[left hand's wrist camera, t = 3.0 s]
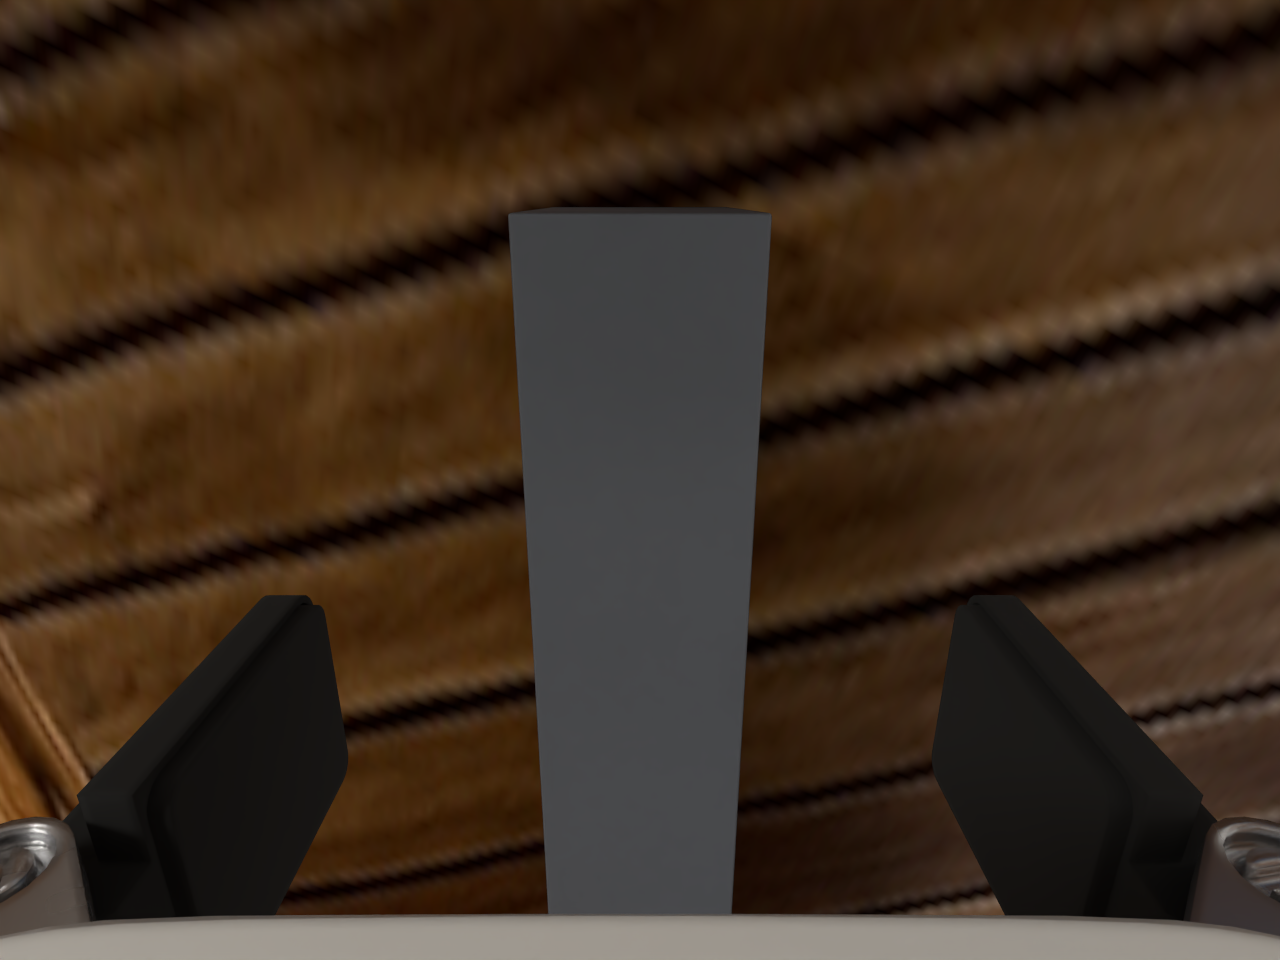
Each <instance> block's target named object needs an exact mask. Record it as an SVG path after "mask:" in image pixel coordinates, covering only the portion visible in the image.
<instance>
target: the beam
mask: <svg viewBox="0 0 1280 960" xmlns="http://www.w3.org/2000/svg"><path fill="white" fill-rule="evenodd" d="M771 219H772V216H771V214H770V213H765V212H758V211H750V210H743V209H735V208H728V207H552V208H545V209H537V210H530V211H522V212H515V213H510V214H509V216H508V220H509V237H510V255H511V272H512V289H513V307H514V324H515V341H516V359H517V376H518V394H519V411H520V428H521V446H522V463H523V480H524V498H525V515H526V532H527V550H528V567H529V584H530V602H531V619H532V636H533V654H534V671H535V688H536V706H537V723H538V740H539V758H540V775H541V792H542V810H543V827H544V845H545V862H546V879H547V897H548V914H731V913H732V896H733V879H734V861H735V844H736V827H737V809H738V792H739V775H740V757H741V740H742V722H743V705H744V688H745V670H746V653H747V636H748V618H749V601H750V584H751V566H752V549H753V532H754V514H755V497H756V480H757V462H758V445H759V428H760V410H761V393H762V375H763V358H764V341H765V323H766V306H767V289H768V271H769V254H770V237H771Z"/></svg>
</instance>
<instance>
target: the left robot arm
mask: <svg viewBox="0 0 1280 960" xmlns="http://www.w3.org/2000/svg"><path fill="white" fill-rule="evenodd" d="M347 765H348V750H347V744H346V738H345V732H344V726H343V720H342V714H341V708H340V702H339V696H338V690H337V684H336V678H335V672H334V666H333V660H332V654H331V648H330V642H329V636H328V630H327V624H326V618H325V614H324V610H323V608H322V607H321V606H320V605H313V603H312V601H311V600H310V598H309V597H308V596H306V595H269V596H265V597H263V598H262V599H261V600H260V601H259V602H258V603H257V604H256V605H255V606H254V607H253V608H252V609H251V610H250V611H249V612H248V613H247V615H246V616H245V617H244V618H243V619H242V620H241V621H240V622H239V623H238V624H237V625H236V626H235V627H234V628H233V629H232V631H231V632H230V633H229V634H228V635H227V636H226V637H225V638H224V639H223V640H222V641H221V642H220V643H219V644H218V645H217V646H216V648H215V649H214V650H213V651H212V652H211V653H210V654H209V655H208V656H207V657H206V658H205V659H204V660H203V661H202V662H201V664H200V665H199V666H198V667H197V668H196V669H195V670H194V671H193V672H192V673H191V674H190V675H189V676H188V677H187V678H186V679H185V681H184V682H183V683H182V684H181V685H180V686H179V687H178V688H177V689H176V690H175V691H174V692H173V693H172V694H171V695H170V697H169V698H168V699H167V700H166V701H165V702H164V703H163V704H162V705H161V706H160V707H159V708H158V709H157V710H156V711H155V712H154V714H153V715H152V716H151V717H150V718H149V719H148V720H147V721H146V722H145V723H144V724H143V725H142V726H141V727H140V728H139V730H138V731H137V732H136V733H135V734H134V735H133V736H132V737H131V738H130V739H129V740H128V741H127V742H126V743H125V744H124V746H123V747H122V748H121V749H120V750H119V751H118V752H117V753H116V754H115V755H114V756H113V757H112V758H111V759H110V760H109V761H108V763H107V764H106V765H105V766H104V767H103V768H102V769H101V770H100V771H99V772H98V773H97V774H96V775H95V776H94V777H93V779H92V780H91V781H90V782H89V783H88V784H87V785H86V786H85V787H84V788H83V789H82V790H81V791H80V792H79V793H78V794H77V797H78V800H79V804H78V805H77V806H76V807H75V808H74V809H73V810H72V811H71V813H70V814H69V815H68V816H67V817H66V818H65V819H64V820H63V821H60V820H58V819H56V818H46V817H31V818H24V819H18V820H12V821H9V822H6V823H2V824H0V960H1280V824H1278V823H1274V822H1271V821H1268V820H1262V819H1256V818H1249V817H1234V818H1224V819H1222V820H1220V821H1217V820H1216V819H1215V818H1214V817H1213V816H1212V815H1211V814H1210V813H1209V811H1208V810H1207V809H1206V808H1205V807H1204V806H1203V805H1202V804H1201V800H1202V797H1203V794H1202V793H1201V792H1200V791H1199V790H1198V789H1197V788H1196V787H1195V786H1194V785H1193V784H1192V783H1191V782H1190V781H1189V780H1188V779H1187V777H1186V776H1185V775H1184V774H1183V773H1182V772H1181V771H1180V770H1179V769H1178V768H1177V767H1176V766H1175V765H1174V764H1173V763H1172V761H1171V760H1170V759H1169V758H1168V757H1167V756H1166V755H1165V754H1164V753H1163V752H1162V751H1161V750H1160V749H1159V748H1158V747H1157V746H1156V744H1155V743H1154V742H1153V741H1152V740H1151V739H1150V738H1149V737H1148V736H1147V735H1146V734H1145V733H1144V732H1143V731H1142V730H1141V728H1140V727H1139V726H1138V725H1137V724H1136V723H1135V722H1134V721H1133V720H1132V719H1131V718H1130V717H1129V716H1128V715H1127V714H1126V712H1125V711H1124V710H1123V709H1122V708H1121V707H1120V706H1119V705H1118V704H1117V703H1116V702H1115V701H1114V700H1113V699H1112V698H1111V697H1110V695H1109V694H1108V693H1107V692H1106V691H1105V690H1104V689H1103V688H1102V687H1101V686H1100V685H1099V684H1098V683H1097V682H1096V681H1095V679H1094V678H1093V677H1092V676H1091V675H1090V674H1089V673H1088V672H1087V671H1086V670H1085V669H1084V668H1083V667H1082V666H1081V665H1080V664H1079V662H1078V661H1077V660H1076V659H1075V658H1074V657H1073V656H1072V655H1071V654H1070V653H1069V652H1068V651H1067V650H1066V649H1065V648H1064V646H1063V645H1062V644H1061V643H1060V642H1059V641H1058V640H1057V639H1056V638H1055V637H1054V636H1053V635H1052V634H1051V633H1050V632H1049V631H1048V629H1047V628H1046V627H1045V626H1044V625H1043V624H1042V623H1041V622H1040V621H1039V620H1038V619H1037V618H1036V617H1035V616H1034V615H1033V613H1032V612H1031V611H1030V610H1029V609H1028V608H1027V607H1026V606H1025V605H1024V604H1023V603H1022V602H1021V601H1020V600H1019V599H1018V598H1017V597H1015V596H1011V595H974V596H972V597H971V598H970V600H969V601H968V603H967V605H960V606H959V607H958V608H957V610H956V614H955V618H954V624H953V630H952V636H951V642H950V648H949V654H948V660H947V666H946V672H945V678H944V684H943V690H942V696H941V702H940V708H939V714H938V720H937V726H936V732H935V738H934V744H933V750H932V765H933V771H934V775H935V777H936V780H937V782H938V784H939V786H940V788H941V790H942V792H943V794H944V796H945V798H946V800H947V802H948V804H949V806H950V808H951V810H952V812H953V813H954V815H955V817H956V819H957V821H958V823H959V825H960V827H961V829H962V831H963V833H964V835H965V837H966V839H967V841H968V843H969V845H970V847H971V849H972V851H973V853H974V855H975V857H976V859H977V861H978V863H979V865H980V867H981V869H982V871H983V873H984V875H985V877H986V879H987V881H988V882H989V884H990V886H991V888H992V890H993V892H994V894H995V896H996V898H997V900H998V902H999V904H1000V906H1001V908H1002V910H1003V912H1004V914H1005V915H830V914H450V915H275V914H276V912H277V910H278V908H279V906H280V904H281V902H282V900H283V898H284V896H285V894H286V892H287V890H288V888H289V886H290V884H291V882H292V881H293V879H294V877H295V875H296V873H297V871H298V869H299V867H300V865H301V863H302V861H303V859H304V857H305V855H306V853H307V851H308V849H309V847H310V845H311V843H312V841H313V839H314V837H315V835H316V833H317V831H318V829H319V827H320V825H321V823H322V821H323V819H324V817H325V815H326V813H327V812H328V810H329V808H330V806H331V804H332V802H333V800H334V798H335V796H336V794H337V792H338V790H339V788H340V786H341V784H342V782H343V780H344V777H345V775H346V771H347Z"/></svg>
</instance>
